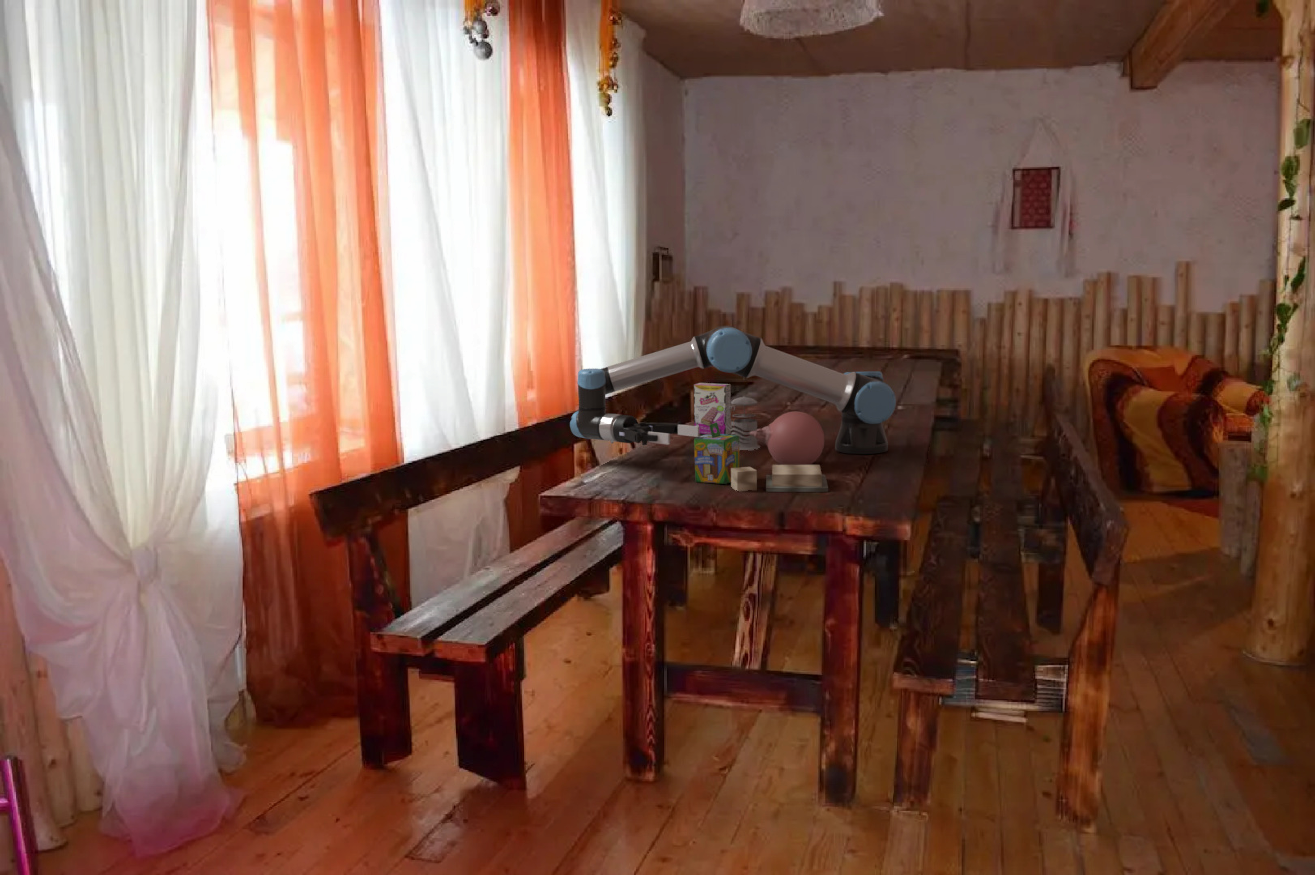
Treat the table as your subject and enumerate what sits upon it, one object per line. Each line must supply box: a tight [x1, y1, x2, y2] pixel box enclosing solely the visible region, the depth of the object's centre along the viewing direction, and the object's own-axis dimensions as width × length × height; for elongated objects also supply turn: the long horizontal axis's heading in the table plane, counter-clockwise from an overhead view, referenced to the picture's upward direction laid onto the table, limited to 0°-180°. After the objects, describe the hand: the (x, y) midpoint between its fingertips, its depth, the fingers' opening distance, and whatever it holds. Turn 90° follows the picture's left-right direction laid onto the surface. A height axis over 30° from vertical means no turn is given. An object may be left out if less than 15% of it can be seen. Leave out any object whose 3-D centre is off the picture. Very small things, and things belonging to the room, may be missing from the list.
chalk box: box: [693, 423, 741, 485], centre depth 275 cm, size 9×9×15 cm
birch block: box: [730, 466, 758, 492], centre depth 266 cm, size 5×5×5 cm
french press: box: [724, 395, 761, 451], centre depth 320 cm, size 10×12×25 cm
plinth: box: [765, 464, 829, 493], centre depth 268 cm, size 15×15×4 cm
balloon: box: [749, 410, 825, 465], centre depth 289 cm, size 15×20×15 cm
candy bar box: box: [693, 382, 732, 436], centre depth 344 cm, size 11×5×16 cm, turn 65°
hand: (684, 435), depth 280 cm, fingers open, 13 cm apart
